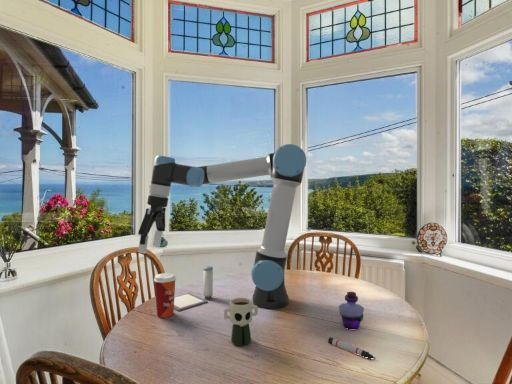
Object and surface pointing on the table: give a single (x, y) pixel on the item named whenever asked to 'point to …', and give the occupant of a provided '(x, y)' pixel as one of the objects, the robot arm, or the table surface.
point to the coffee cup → (165, 294)
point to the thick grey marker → (208, 282)
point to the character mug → (240, 319)
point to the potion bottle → (351, 311)
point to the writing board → (187, 301)
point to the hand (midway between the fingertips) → (149, 249)
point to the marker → (349, 347)
